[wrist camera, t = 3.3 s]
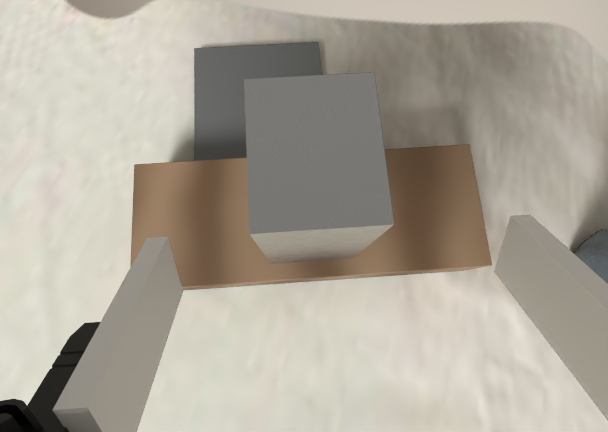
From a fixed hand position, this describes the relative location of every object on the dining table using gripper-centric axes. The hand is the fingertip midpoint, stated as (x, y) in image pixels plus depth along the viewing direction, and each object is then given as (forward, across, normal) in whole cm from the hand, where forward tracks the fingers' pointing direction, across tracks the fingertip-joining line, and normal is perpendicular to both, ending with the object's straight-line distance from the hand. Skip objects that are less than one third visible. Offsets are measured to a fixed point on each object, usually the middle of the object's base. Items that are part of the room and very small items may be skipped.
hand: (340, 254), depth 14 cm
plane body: (+11, -1, -6) cm, 13 cm away
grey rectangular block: (+8, -1, -3) cm, 9 cm away
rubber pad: (+18, -4, +1) cm, 19 cm away
